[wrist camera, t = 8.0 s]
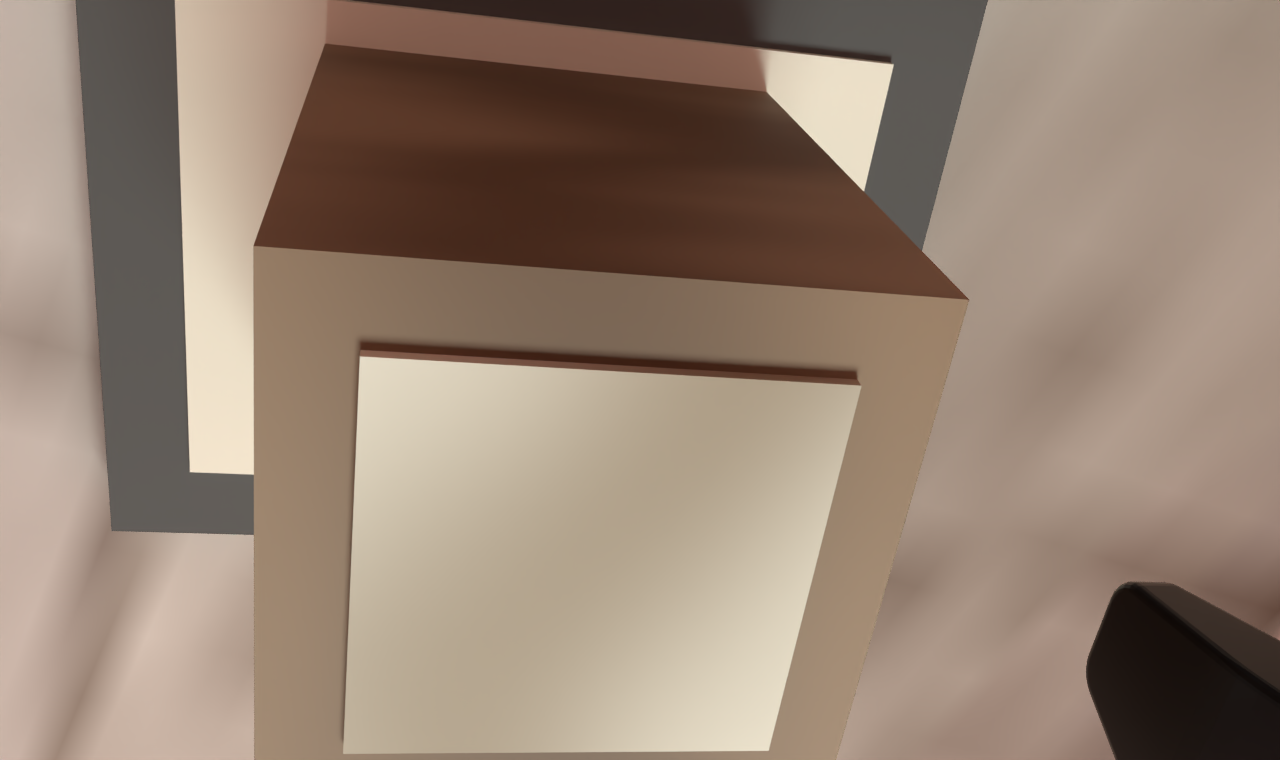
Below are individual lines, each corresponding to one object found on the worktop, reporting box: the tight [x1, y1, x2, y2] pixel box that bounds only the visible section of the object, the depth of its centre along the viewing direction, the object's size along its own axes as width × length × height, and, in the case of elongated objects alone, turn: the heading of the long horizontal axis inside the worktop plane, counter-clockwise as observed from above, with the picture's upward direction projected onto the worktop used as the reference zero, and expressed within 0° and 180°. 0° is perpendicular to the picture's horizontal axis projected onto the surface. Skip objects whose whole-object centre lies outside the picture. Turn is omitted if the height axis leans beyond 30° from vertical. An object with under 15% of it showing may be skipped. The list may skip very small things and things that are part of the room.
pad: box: [76, 0, 988, 535], centre depth 15 cm, size 10×8×1 cm
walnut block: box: [253, 44, 969, 760], centre depth 12 cm, size 5×5×6 cm
